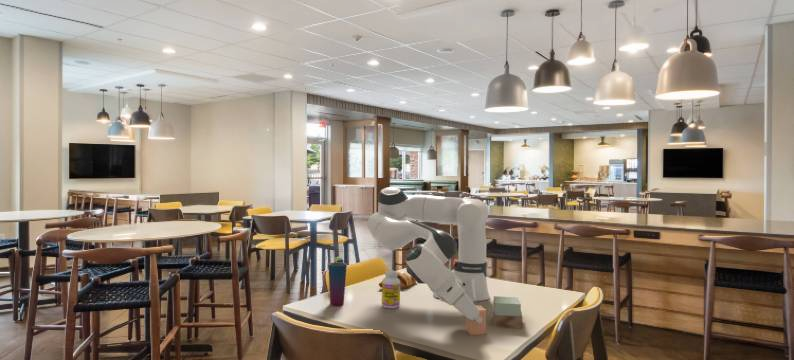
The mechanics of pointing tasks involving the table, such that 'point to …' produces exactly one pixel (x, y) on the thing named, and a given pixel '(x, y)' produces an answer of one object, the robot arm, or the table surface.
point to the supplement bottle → (391, 290)
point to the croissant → (404, 280)
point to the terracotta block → (476, 327)
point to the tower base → (508, 321)
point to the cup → (337, 282)
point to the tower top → (507, 306)
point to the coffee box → (338, 259)
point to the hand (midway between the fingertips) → (477, 317)
